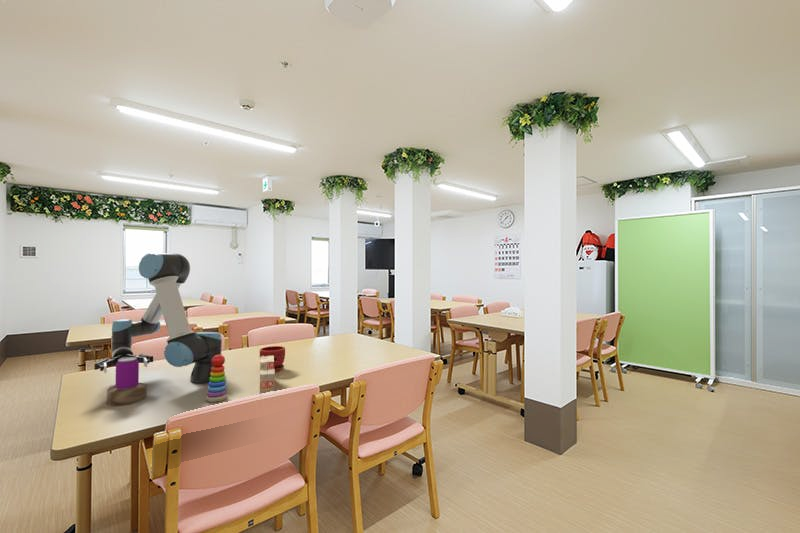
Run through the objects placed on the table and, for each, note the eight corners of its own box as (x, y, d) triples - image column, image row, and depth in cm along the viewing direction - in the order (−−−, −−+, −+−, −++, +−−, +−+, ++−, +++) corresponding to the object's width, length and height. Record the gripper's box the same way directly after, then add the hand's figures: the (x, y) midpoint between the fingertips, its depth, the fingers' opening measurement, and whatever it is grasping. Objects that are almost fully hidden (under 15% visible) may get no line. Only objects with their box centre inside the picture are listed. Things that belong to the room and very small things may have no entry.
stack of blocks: (274, 394, 158) (275, 366, 158) (259, 396, 156) (259, 367, 155) (273, 379, 178) (273, 354, 178) (260, 380, 176) (260, 355, 175)
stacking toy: (218, 403, 146) (219, 357, 146) (201, 401, 148) (202, 356, 148) (231, 396, 154) (231, 353, 154) (215, 395, 155) (215, 352, 155)
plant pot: (289, 367, 199) (289, 345, 199) (277, 374, 186) (277, 351, 186) (267, 365, 201) (268, 344, 201) (254, 372, 188) (254, 350, 188)
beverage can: (121, 385, 152) (122, 356, 152) (142, 384, 153) (142, 356, 153) (111, 391, 144) (111, 361, 144) (132, 390, 146) (133, 360, 146)
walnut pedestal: (153, 394, 155) (153, 383, 155) (128, 406, 142) (128, 393, 142) (125, 393, 156) (125, 381, 156) (98, 404, 143) (98, 392, 143)
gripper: (155, 360, 173) (161, 370, 157) (87, 369, 157) (86, 381, 141) (155, 344, 173) (162, 353, 157) (87, 352, 157) (86, 362, 141)
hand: (126, 366), depth 149 cm, fingers open, 13 cm apart
